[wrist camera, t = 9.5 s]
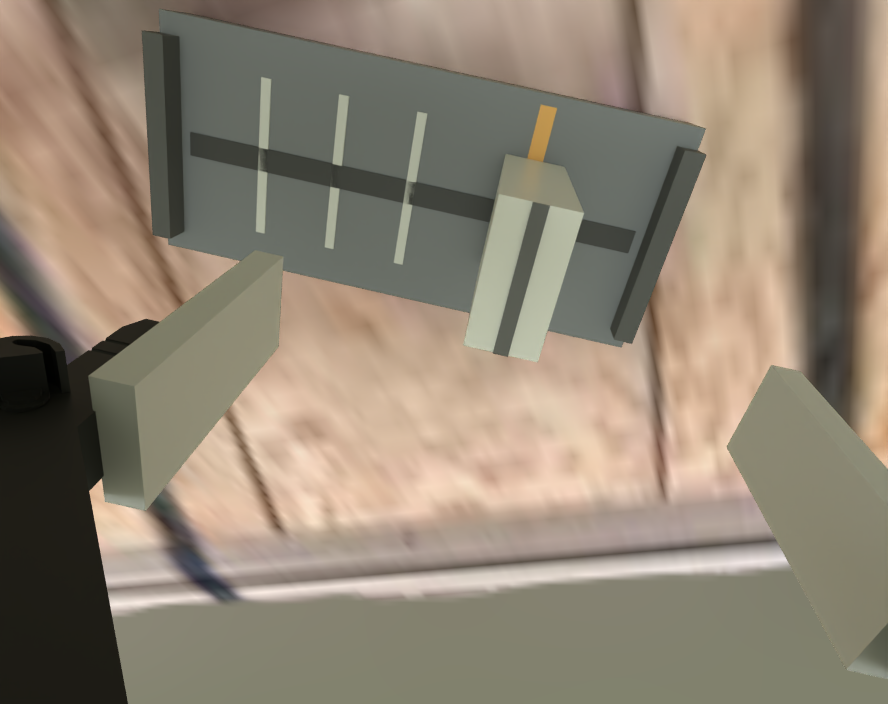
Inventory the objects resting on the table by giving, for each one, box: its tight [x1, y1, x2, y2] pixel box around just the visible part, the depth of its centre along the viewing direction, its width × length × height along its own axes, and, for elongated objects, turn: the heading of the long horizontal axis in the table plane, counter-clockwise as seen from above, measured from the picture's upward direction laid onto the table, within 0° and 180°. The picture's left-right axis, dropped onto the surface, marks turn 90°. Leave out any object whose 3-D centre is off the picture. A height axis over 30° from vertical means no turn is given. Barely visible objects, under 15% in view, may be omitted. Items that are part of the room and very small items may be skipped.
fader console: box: [142, 9, 706, 347], centre depth 31 cm, size 12×27×4 cm, turn 79°
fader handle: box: [463, 154, 584, 362], centre depth 25 cm, size 6×3×10 cm, turn 169°
